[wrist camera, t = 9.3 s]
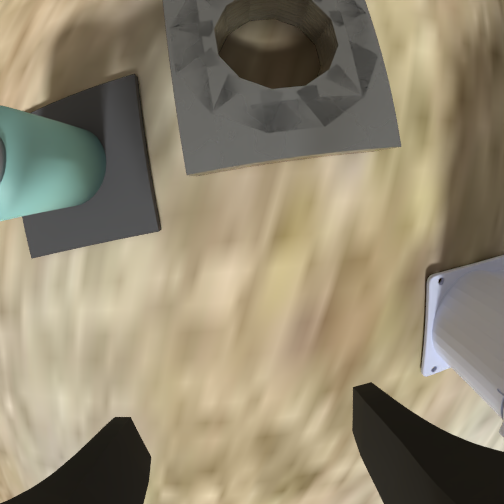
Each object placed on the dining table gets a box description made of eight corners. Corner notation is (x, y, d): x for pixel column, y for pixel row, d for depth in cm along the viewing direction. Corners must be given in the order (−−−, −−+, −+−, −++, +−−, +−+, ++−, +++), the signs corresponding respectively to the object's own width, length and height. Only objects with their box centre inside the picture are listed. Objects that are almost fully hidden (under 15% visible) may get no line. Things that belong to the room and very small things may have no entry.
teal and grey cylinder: (103, 120, 15) (20, 86, 8) (110, 199, 16) (26, 214, 9) (39, 139, 15) (-52, 126, 8) (46, 212, 16) (-46, 233, 8)
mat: (137, 76, 15) (134, 74, 15) (161, 229, 17) (158, 231, 17) (16, 123, 15) (11, 122, 15) (36, 256, 17) (31, 258, 17)
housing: (330, -21, 14) (345, -50, 11) (372, 151, 17) (401, 146, 14) (171, -6, 14) (159, -36, 11) (196, 176, 17) (186, 175, 13)
